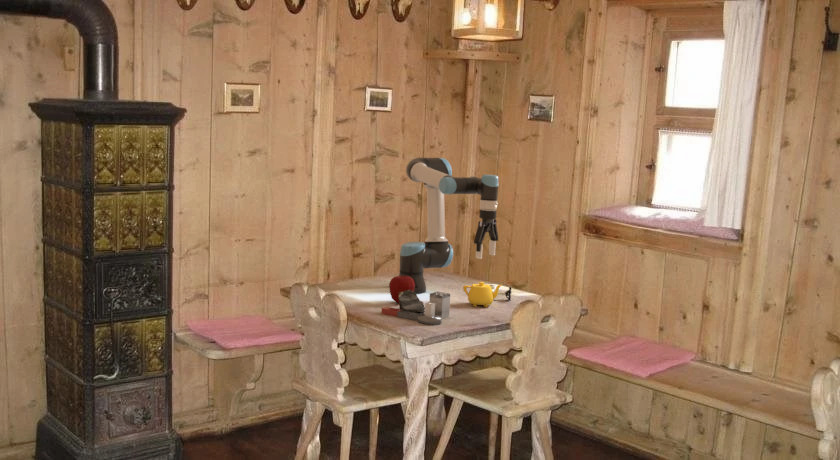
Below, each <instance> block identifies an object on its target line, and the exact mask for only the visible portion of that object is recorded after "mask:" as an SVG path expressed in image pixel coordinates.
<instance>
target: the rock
mask: <svg viewBox="0 0 840 460" xmlns="http://www.w3.org/2000/svg"><path fill="white" fill-rule="evenodd" d="M398 306H399V309H401V310H403V311H408V312H413V313H419V314H424V313H425V304H424V303H423V301H421V300H420V298H419V297H418V295H417V293H415V292H414V291H411V290H408V291H404V292H399V304H398Z"/></svg>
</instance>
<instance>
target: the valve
mask: <svg viewBox="0 0 840 460" xmlns="http://www.w3.org/2000/svg"><path fill="white" fill-rule="evenodd" d="M489 285H490V286H491V289H492V292H493V293H494V292H495V290H496V289H495V285H493V284H489ZM504 295H505V297H506V298H507V300H510V301H511V299H512V296H511V295H512V286H509V287H508V290H506V291H505V292H504V291H502V290H501V291H499V290H498V295H497V297H498V296H504Z"/></svg>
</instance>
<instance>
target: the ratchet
mask: <svg viewBox="0 0 840 460" xmlns="http://www.w3.org/2000/svg"><path fill="white" fill-rule="evenodd" d="M424 307H425V309H424V311H425V312H424V313H419V312H408V311H403V310H401V309H400V308H396V307H391V306H385V307H384V306H383V307H382V308H381V312H380V313H381V314H380V315H386V316H391V317H396V318H401V319H407V320H412V321H416V323H418V324H419V325H423V326H437V325H438V326H439V325H441V324H442V320H443V319H442V317H441V316H440V315H437V314H435V303H431V302H429V301H428V302H425V304H424Z"/></svg>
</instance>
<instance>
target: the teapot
mask: <svg viewBox="0 0 840 460" xmlns="http://www.w3.org/2000/svg"><path fill="white" fill-rule="evenodd" d="M490 285H491V284H488V283H487V284H486V283H485V282H484V281H479V282H478V283H472V285H467V284H465V285H463V286H462V290H463V291H464V293H465V294H466V295H467V300H468V302H469V304H471V305H472V307H474V306H478V305H479V306H483V308H489V306H491V305H492V303H494V300H495V299H496V298H497V297H498V296H499V295H498V291H499V290H500V288H501V287H502V286H503V284H498V285H497V286H496V287H495V289H494V290H495V292H494V293H493V292H492V289H491V286H490ZM468 288H469V290H468ZM497 295H498V296H497Z"/></svg>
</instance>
